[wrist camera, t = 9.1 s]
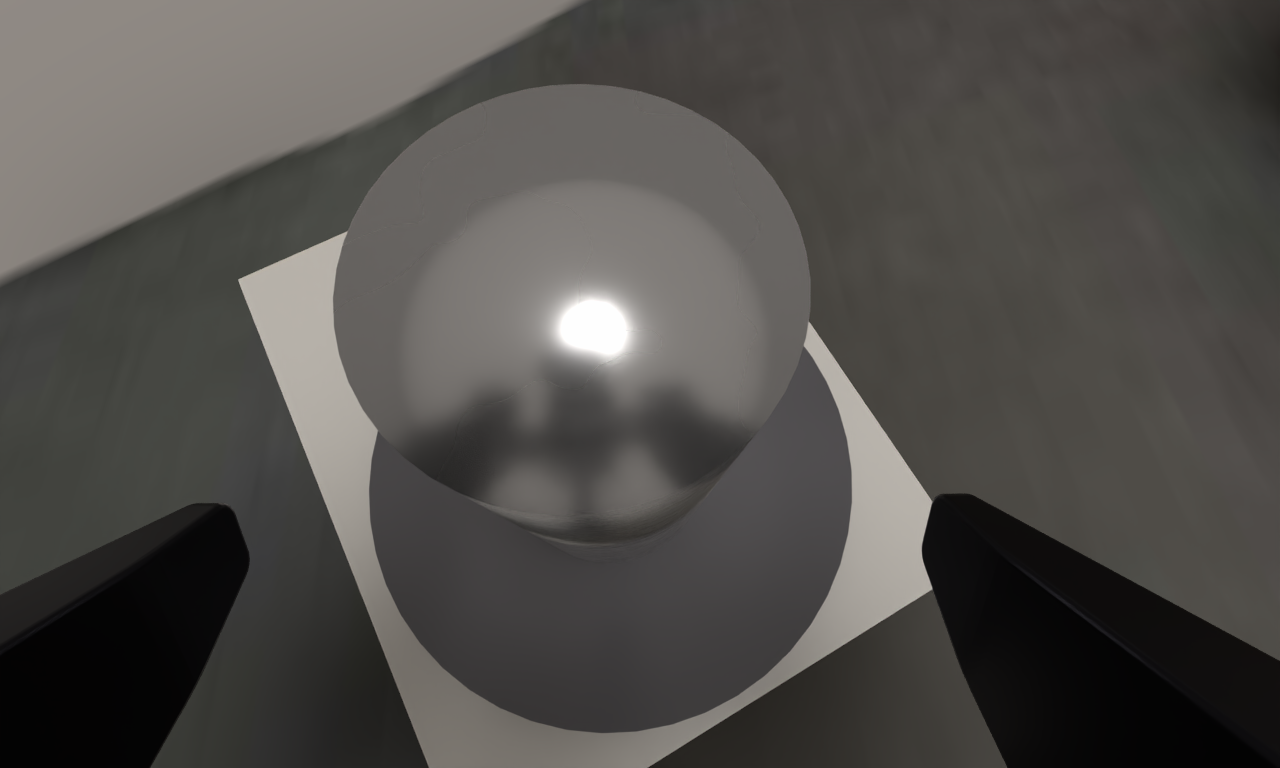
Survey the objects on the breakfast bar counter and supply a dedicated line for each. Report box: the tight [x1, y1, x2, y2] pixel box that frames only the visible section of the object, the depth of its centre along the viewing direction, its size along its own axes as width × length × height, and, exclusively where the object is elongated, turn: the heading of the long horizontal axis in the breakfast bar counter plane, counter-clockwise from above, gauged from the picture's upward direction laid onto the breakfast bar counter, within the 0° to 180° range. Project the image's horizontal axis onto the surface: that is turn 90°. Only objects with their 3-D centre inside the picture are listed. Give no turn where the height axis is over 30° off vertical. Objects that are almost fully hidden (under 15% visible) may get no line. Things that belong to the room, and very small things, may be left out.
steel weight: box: [333, 84, 811, 563], centre depth 12 cm, size 5×5×11 cm
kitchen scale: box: [238, 231, 932, 768], centre depth 19 cm, size 15×18×4 cm
